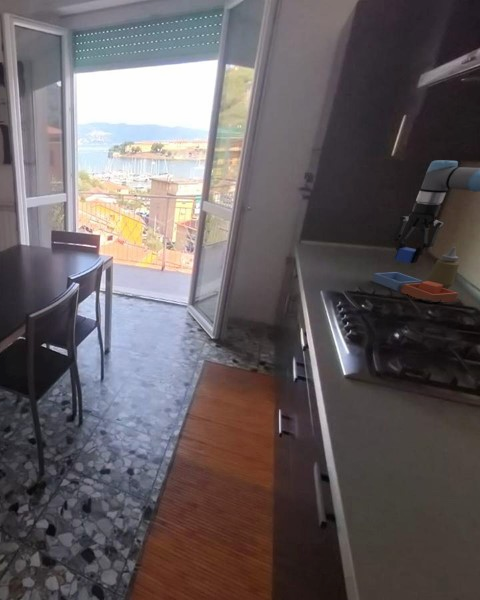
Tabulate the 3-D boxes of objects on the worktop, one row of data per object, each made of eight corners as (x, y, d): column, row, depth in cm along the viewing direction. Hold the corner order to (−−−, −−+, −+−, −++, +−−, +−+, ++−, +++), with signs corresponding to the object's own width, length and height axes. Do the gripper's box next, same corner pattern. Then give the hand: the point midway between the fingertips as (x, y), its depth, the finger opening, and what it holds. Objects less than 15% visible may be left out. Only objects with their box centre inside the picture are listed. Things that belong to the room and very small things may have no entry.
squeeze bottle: (446, 288, 149) (464, 246, 142) (452, 294, 143) (472, 251, 136) (420, 284, 153) (438, 243, 146) (425, 290, 147) (443, 248, 139)
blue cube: (415, 262, 146) (420, 250, 144) (409, 263, 144) (413, 251, 142) (401, 258, 150) (406, 247, 148) (394, 260, 148) (399, 248, 146)
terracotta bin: (454, 301, 137) (458, 293, 135) (429, 303, 135) (433, 294, 133) (423, 290, 147) (427, 282, 145) (400, 292, 145) (403, 284, 144)
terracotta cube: (438, 296, 140) (443, 284, 138) (431, 298, 138) (436, 286, 136) (422, 292, 144) (427, 280, 142) (415, 294, 142) (420, 282, 140)
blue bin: (419, 289, 148) (423, 281, 147) (396, 290, 147) (399, 282, 145) (393, 279, 159) (396, 271, 157) (371, 281, 157) (374, 273, 155)
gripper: (463, 205, 132) (437, 265, 141) (406, 199, 146) (386, 253, 156) (453, 207, 129) (427, 268, 138) (395, 200, 144) (376, 255, 153)
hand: (405, 260), depth 147 cm, fingers closed on blue cube, 5 cm apart
